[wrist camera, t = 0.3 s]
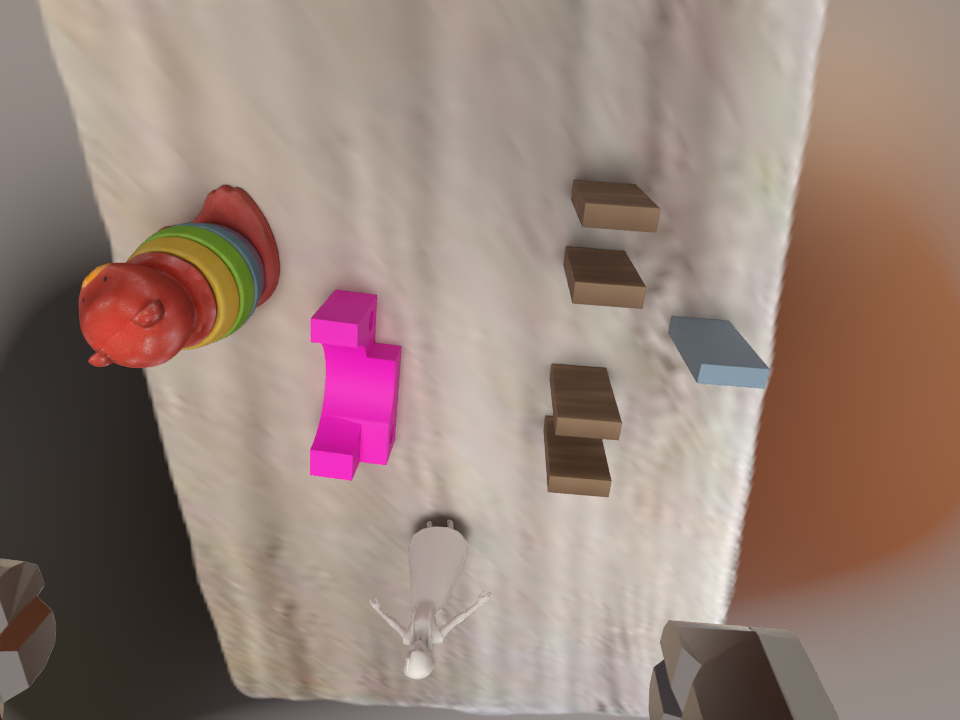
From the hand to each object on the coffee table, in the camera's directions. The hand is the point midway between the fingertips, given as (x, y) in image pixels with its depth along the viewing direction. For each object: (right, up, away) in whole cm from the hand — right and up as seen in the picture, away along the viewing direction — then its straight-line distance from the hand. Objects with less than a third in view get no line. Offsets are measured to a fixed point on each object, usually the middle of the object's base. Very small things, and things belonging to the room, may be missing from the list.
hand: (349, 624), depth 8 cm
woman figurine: (-2, -14, +59) cm, 60 cm away
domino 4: (+10, -3, +52) cm, 54 cm away
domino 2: (+11, +12, +46) cm, 49 cm away
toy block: (-9, +3, +52) cm, 52 cm away
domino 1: (+12, +17, +43) cm, 48 cm away
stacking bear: (-21, +13, +48) cm, 53 cm away
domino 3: (+11, +2, +50) cm, 51 cm away
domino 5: (+21, +6, +48) cm, 52 cm away
